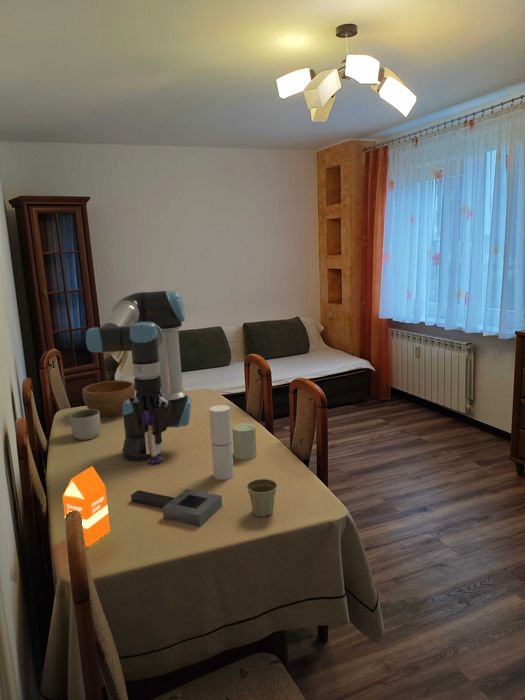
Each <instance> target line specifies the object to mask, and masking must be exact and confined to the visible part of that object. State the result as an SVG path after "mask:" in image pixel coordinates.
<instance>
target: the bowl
mask: <svg viewBox="0 0 525 700" xmlns="http://www.w3.org/2000/svg"><path fill="white" fill-rule="evenodd" d="M81 395H82V399H83V403H84V404H85V406H86V407H87V409H95V410H98V411H99V413H100V417H103V418H113V417H117V416H120V415H121V414H122V415H123V403H124V402H125V401H126V400H128V399H129V398H131V397H134V396H136V390H135V385H134V382H133V381H129V380H107V381H101V382H96V383H91V384H89V385H86V386H85V387H83V388H82V394H81Z"/></svg>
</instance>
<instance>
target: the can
mask: <svg viewBox="0 0 525 700" xmlns="http://www.w3.org/2000/svg"><path fill="white" fill-rule="evenodd" d="M256 429H257V428H256V425H255V424H253V423H249V422H241V423H236V424H234V425H233V426H231V432H232V449H233V453H232V455H233V458H235V459H237V460H241V461H243V460H244V461H245V460H251V459H254V458H256V457H257V455H258V453H257V439H256V438H257V437H256V434H257V433H256Z"/></svg>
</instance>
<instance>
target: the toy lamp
mask: <svg viewBox="0 0 525 700" xmlns="http://www.w3.org/2000/svg"><path fill="white" fill-rule="evenodd" d="M142 423H143V424H144V425H148V427H149V429H148V431H149V437H150V439H149V440H150V446H151V457H150V458H149V459H147V465H150V466H157V465H160V464H162V462H163V459H162V457H161V456H159V455H158V456H157V455H156V456H154V455H153V446H152V433H153V426H152V425H153V424H154V422H153V419H152V415H151V413H150V412H149V408H148V409H146V410H144V414H143V420H142Z"/></svg>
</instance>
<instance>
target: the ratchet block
mask: <svg viewBox="0 0 525 700" xmlns="http://www.w3.org/2000/svg"><path fill="white" fill-rule="evenodd" d="M130 499H131V503H135V504H139V505H144V506H149V507H153V508H157V509H158V508H159V509H162V516H163V517H162V519H164V518H165V520H170V521H173V520H174V522H176V523H177V522H178V523H182V524H186V525H187V524H188V525H191V526H194V527H201V526H203V524H205V522H207V521H208V520H209V519H210V518H211V517H212V516H213V515H214V514H215V513H216V512H217V511H218V510H219V509H221V507H223V501H222V500H223V499H222V495H220V494H215V493H211V492H210V493H209V492H206V491H205V492H204V491H200V490H194V489H189V488H186V489H184V490H183V491H182V492H181V493H179V494H178V495H176V496H175V497H173V496H167V495H164V494H158V493H155V492H154V493H153V492H149V491H145V490H139V489H137V490H136V491H135V492H133V493H131V495H130ZM208 518H209V519H208ZM207 519H208V520H207Z"/></svg>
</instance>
